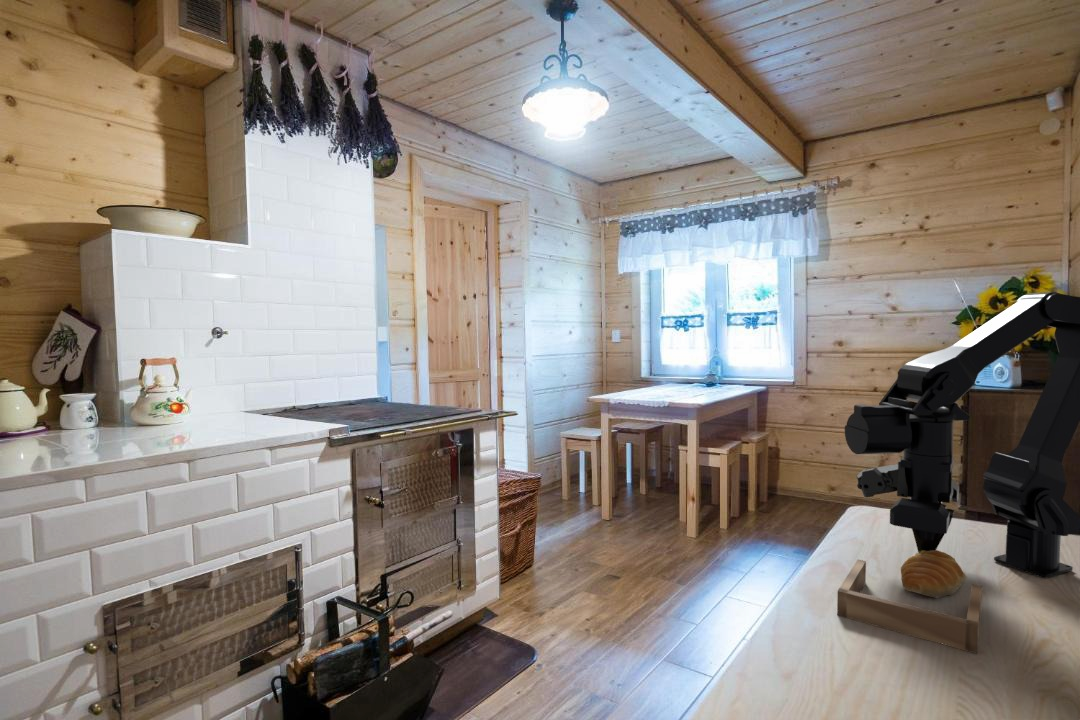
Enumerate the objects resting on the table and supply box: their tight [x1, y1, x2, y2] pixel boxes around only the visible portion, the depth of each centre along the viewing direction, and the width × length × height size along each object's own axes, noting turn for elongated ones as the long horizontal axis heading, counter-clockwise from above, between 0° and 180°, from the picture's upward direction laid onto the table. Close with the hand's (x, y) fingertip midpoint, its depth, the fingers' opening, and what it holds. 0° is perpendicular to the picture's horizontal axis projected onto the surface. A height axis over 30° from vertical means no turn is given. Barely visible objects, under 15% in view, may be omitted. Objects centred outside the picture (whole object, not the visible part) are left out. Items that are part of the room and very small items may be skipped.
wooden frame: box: [836, 559, 983, 654], centre depth 70 cm, size 12×14×3 cm
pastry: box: [900, 549, 967, 599], centre depth 77 cm, size 9×7×4 cm
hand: (925, 560), depth 82 cm, fingers closed
